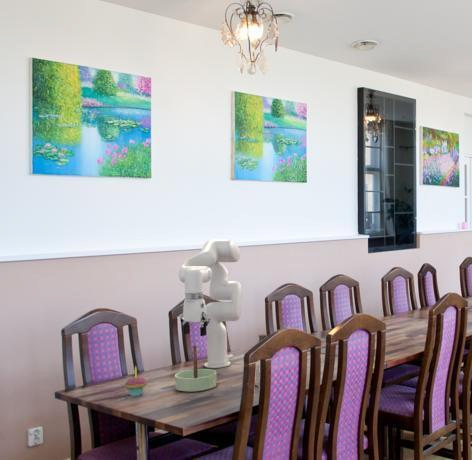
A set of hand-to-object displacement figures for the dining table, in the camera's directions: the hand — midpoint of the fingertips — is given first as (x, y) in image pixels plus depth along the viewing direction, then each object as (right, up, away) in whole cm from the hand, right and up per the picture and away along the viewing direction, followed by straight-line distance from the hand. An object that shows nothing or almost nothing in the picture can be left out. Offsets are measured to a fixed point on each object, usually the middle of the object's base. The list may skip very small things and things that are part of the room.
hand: (195, 334), depth 285 cm
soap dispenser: (+32, -22, -2) cm, 38 cm away
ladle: (+2, -21, -5) cm, 22 cm away
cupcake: (-20, -23, -16) cm, 34 cm away
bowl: (+2, -22, -5) cm, 23 cm away
